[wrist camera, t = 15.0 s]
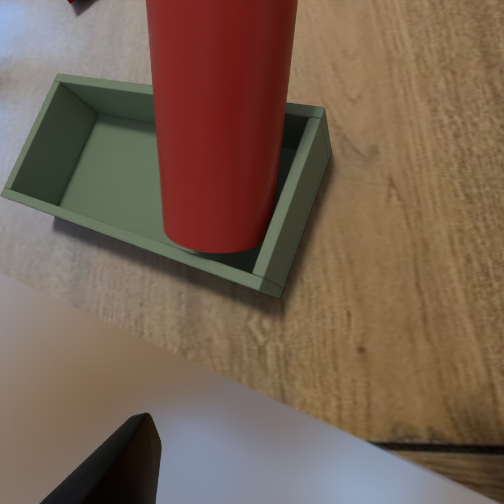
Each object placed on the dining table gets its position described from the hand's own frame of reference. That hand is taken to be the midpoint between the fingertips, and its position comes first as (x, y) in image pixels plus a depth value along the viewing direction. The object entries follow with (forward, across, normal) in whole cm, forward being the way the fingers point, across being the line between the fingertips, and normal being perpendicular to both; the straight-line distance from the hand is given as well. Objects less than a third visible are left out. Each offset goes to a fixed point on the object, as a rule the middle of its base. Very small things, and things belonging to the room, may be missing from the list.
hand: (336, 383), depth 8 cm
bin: (+19, +6, -5) cm, 21 cm away
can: (+13, +3, -2) cm, 13 cm away
